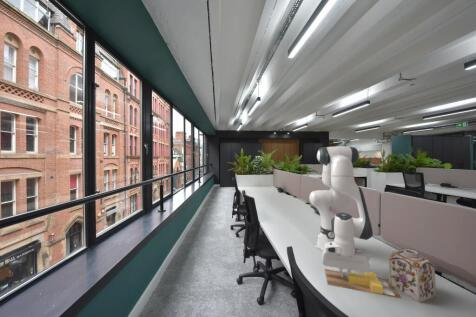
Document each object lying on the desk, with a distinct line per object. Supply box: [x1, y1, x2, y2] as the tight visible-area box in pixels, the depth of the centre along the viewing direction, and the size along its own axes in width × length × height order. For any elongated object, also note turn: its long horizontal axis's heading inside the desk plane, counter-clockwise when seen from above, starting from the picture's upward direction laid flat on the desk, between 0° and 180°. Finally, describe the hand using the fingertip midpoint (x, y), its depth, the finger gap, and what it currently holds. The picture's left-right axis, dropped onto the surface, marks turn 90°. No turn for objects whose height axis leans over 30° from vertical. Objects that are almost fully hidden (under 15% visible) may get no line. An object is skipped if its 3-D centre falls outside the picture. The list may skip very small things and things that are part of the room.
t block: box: [348, 271, 383, 295], centre depth 90 cm, size 12×12×3 cm
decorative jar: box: [388, 248, 437, 304], centre depth 86 cm, size 12×12×18 cm
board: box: [324, 268, 403, 300], centre depth 90 cm, size 14×28×1 cm, turn 71°
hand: (345, 277), depth 92 cm, fingers closed
